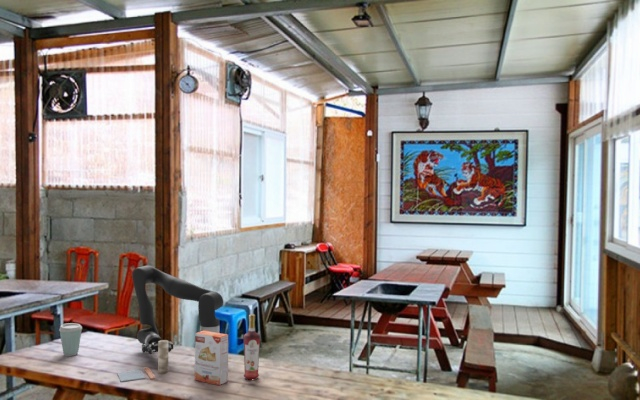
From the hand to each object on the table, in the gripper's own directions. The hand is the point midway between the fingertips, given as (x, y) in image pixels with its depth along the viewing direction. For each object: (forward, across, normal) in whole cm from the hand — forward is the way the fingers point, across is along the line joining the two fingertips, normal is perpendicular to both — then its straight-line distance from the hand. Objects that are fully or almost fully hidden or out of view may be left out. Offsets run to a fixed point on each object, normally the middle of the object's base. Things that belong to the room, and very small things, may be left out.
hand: (160, 350), depth 248 cm
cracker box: (+28, +16, +8) cm, 34 cm away
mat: (+6, -14, +8) cm, 17 cm away
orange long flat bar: (+6, -6, +8) cm, 12 cm away
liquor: (+32, +33, +8) cm, 47 cm away
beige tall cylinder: (+6, 0, +8) cm, 10 cm away
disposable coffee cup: (-42, -36, +8) cm, 56 cm away
